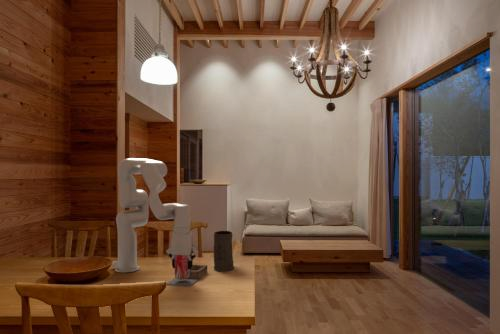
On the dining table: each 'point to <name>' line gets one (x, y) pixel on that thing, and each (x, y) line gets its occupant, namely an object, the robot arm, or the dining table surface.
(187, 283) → the mat
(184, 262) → the soda can
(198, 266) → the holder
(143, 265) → the dining table surface
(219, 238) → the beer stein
